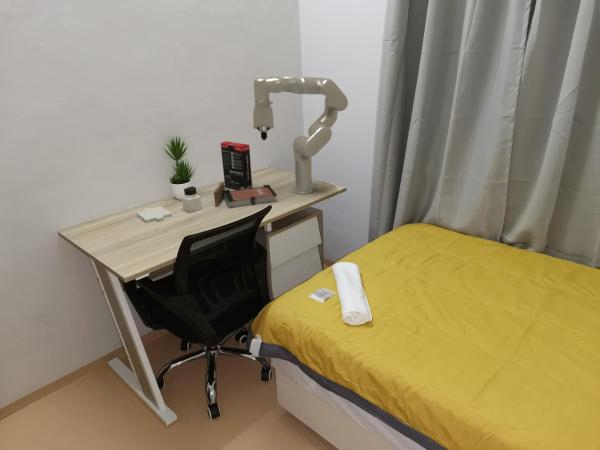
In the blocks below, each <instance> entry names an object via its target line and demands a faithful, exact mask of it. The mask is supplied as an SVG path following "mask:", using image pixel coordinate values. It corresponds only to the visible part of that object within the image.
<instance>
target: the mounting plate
mask: <svg viewBox="0 0 600 450" xmlns="http://www.w3.org/2000/svg"><path fill="white" fill-rule="evenodd" d="M172 214H173V213H172V212H170V211H169V210H167V209H166V208H164V207H163V206H158V207H157V206H156V207H153V208H152V207H147V208H144V210H141V211H137V212H136V216H137V217H138V218H140V219H141V220H142V221H143V222H144V223H146V224H148V223H152V222H156V221H157V222H163V221H164V219H166V218H170V217H172V216H173V215H172Z"/></svg>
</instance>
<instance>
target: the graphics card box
mask: <svg viewBox="0 0 600 450" xmlns="http://www.w3.org/2000/svg"><path fill="white" fill-rule="evenodd" d="M250 149H251V148H250V144H246V143H239V142H235V141H234V142H233V141H223V142H220V153H221V163H222V172H223V179H224V181H223V182H224V186H225V188H229V189H233V190H243V189H251V188H253V178H252V166H251V151H250Z"/></svg>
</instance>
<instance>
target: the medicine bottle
mask: <svg viewBox="0 0 600 450" xmlns="http://www.w3.org/2000/svg"><path fill="white" fill-rule="evenodd" d="M183 193H184V195H183V196H181V203H182V210H185V211H186V212H189V213H194V212H196V211H199V210H202V209H203V207H202V206H203V205H202V198H201V196H200V195H198V193H197V188H196V187H195V186H192V185H190V186H186V187H185V188H183Z"/></svg>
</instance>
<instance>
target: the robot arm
mask: <svg viewBox="0 0 600 450" xmlns="http://www.w3.org/2000/svg"><path fill="white" fill-rule="evenodd" d="M282 92H285V93H293V94H297V95H322V96H325V98H324V110H323V111H322V114H321V115H320V116H319V117H318V118H317V119H316V120H315V121H314V122H313V123H312V124H310V126H309V127H308V130H307V134H308V136H306V135H298V136H297V137H295V139H293V143H292V148H293V155H294V177H295V178H294V181H295V182H294V183H295V184H294V185H295V186H294V187H293V188H292V192H293V193H294V194H298V195H299V194H300V195H306V194H312V193H314V191H315V189H320V184H318V183H315V184H314V183H313V181H312V178H313V177H312V157H314V156H316V155H317V154H318V153H319V152H320V151H321V150H323V148H324V147H325V146H326V145H327V144H328V143H329V141H330V140H331V138H332V136H333V135H332V134H333V132H332V129H331V128H332V127H333V126H334V125H335V123H336V122H337V120H338V115H339V113H338V112H343V111H345V110H346V109H347V107H348V105H349V100H348V97H347V96H346V94H345V93H344V92H343V91H342V90H341V88H339V86H338V85H337V84H336V83H335V81H333V80H332V79H331V78H326V77H309V76H275V75H274V76H273V75H272V76H269V77H267V78H265V77H258V78H254V80H253V95H254V106H253V112H252V119H253V120H252V121H253V129H255V130H258V131H259V132H260V139H261V140H262V141H266V140H267V139H268V131H269V130H273V129H274V128H275V126H274V112H273V108H272V106H271V105H273V101H271V100H270V94H272V93H273V94H279V93H282ZM263 127H264V128H263Z"/></svg>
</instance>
